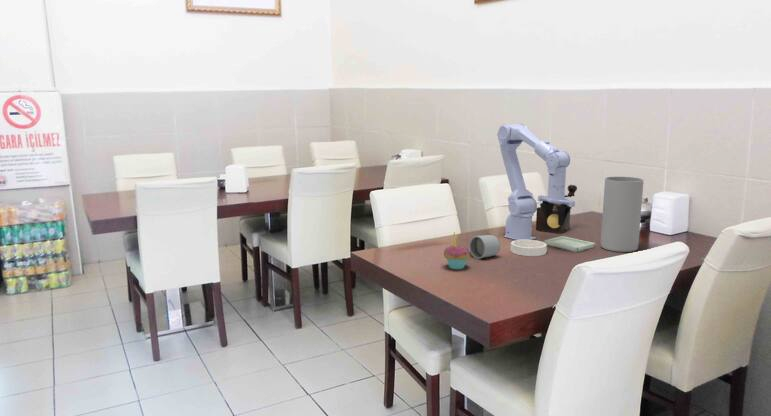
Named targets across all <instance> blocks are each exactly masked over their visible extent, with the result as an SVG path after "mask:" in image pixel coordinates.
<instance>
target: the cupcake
mask: <svg viewBox="0 0 771 416" xmlns="http://www.w3.org/2000/svg"><path fill="white" fill-rule="evenodd" d="M452 236H453V245H449V246H447V247H446V248H445V249H444V250H443V256H444V258H445V259H446V262H447V264H448V267H449V268H450V269H452V270H462V269H464V268H465V265H466V263H467V262H468V259H469V258H470V257H471V253H470V251H469V248H467V247H465V246H464V245H460V244H457V240H456V239H457V237H456V233H455V231H453V235H452Z"/></svg>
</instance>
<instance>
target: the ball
mask: <svg viewBox="0 0 771 416" xmlns="http://www.w3.org/2000/svg"><path fill="white" fill-rule="evenodd" d="M547 223H548V225H549V226H550V227H551V228H558V227H559V224H558V215H557V214H552V215H550V216H549V217H548V219H547Z"/></svg>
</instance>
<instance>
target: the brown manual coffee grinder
mask: <svg viewBox="0 0 771 416" xmlns="http://www.w3.org/2000/svg"><path fill="white" fill-rule="evenodd" d="M567 190H568V193H567V195H566V194H565V198H572V197H575V193H576V191H577V190H578V186H576V185H574V184H570V185H568V186H567ZM557 206H561V205H559V204H554V206H553V210H552V214H557V215H558V210H557ZM535 223H536V224H535V231H538V232H544V233H552V234H559V235H560V234H562V233H566V232H567V231H569V230H570V229H571V228H570V227H571V226H570V225H571V210H570V211H569V213H568V214H567V217H566V219H565V222H564V225H561V226H559V227H558V228H551V227H550V226H549V225H548V223H546V220H545V216H544V212H543V210H542V208H541V206H539V207H538V206H537V210H536V219H535Z"/></svg>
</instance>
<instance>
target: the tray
mask: <svg viewBox="0 0 771 416" xmlns="http://www.w3.org/2000/svg"><path fill="white" fill-rule="evenodd" d="M543 242H544V243H546V244H547V246H550V247H553V248H554V247H555V248H557V249H558V248H559V249H562V250H567V251H570V252H573V253H579V252H582V251H583V252H584V251H586V250H591V249H594V248H596V243H595V242H592V241H588V240H587V241H586V240H581V239H578V238H573V237H569V236H564V235H561V236H557V237H553V238H548V239H545V240H544V241H543Z"/></svg>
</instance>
